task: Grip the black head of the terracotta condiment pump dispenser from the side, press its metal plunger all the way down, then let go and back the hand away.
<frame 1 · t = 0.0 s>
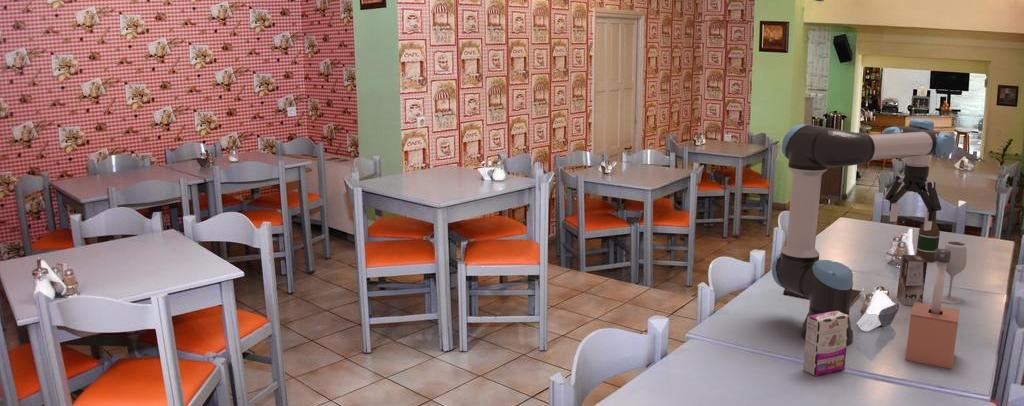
hand: (909, 225, 277), 28 cm above the table, tool pointing down, fingers open, 13 cm apart
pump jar: (929, 357, 236), on the table
beer bottle: (925, 260, 336), on the table
coffee box: (909, 302, 284), on the table
wineglass: (948, 301, 286), on the table
candy bar box: (823, 370, 227), on the table
pump plunger: (938, 288, 230), point 22 cm above the table, slide at 0.0 cm
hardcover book: (821, 297, 291), on the table
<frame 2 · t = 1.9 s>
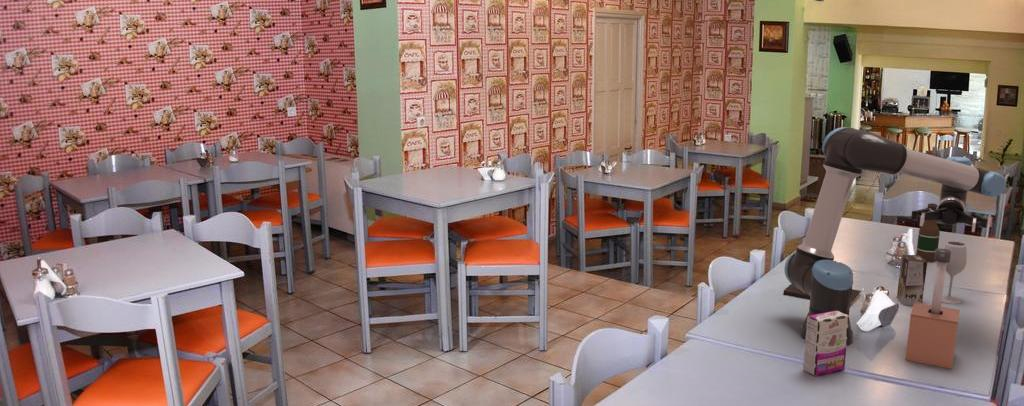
hand: (947, 224, 237), 38 cm above the table, tool horizontal, fingers open, 13 cm apart
nothing on the table moved.
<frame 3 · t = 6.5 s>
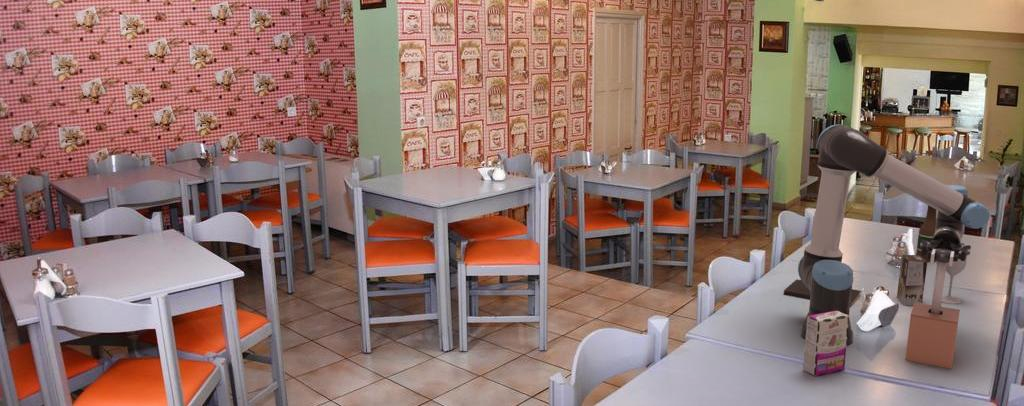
hand: (941, 260, 225), 31 cm above the table, tool horizontal, fingers closed on pump plunger, 4 cm apart
pump plunger: (938, 288, 230), point 22 cm above the table, slide at 0.0 cm, touching gripper
everything else where it was.
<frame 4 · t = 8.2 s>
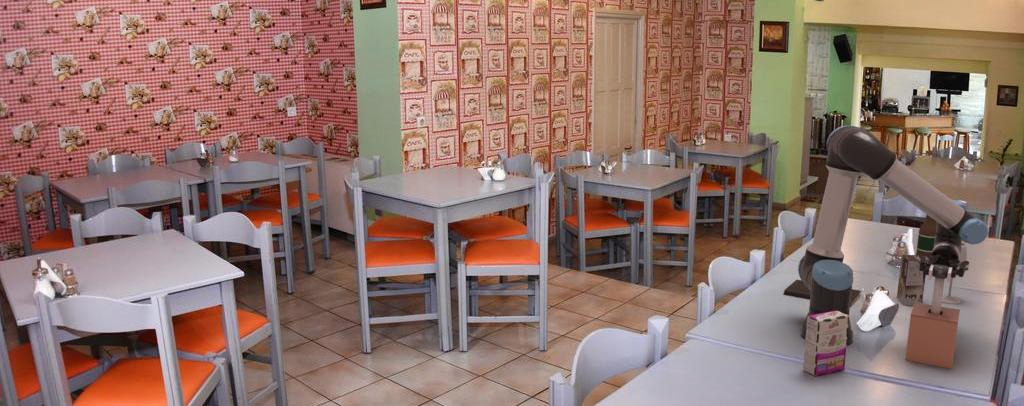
hand: (939, 276, 226), 26 cm above the table, tool horizontal, fingers closed on pump plunger, 4 cm apart
pump plunger: (936, 303, 231), point 17 cm above the table, slide at 4.8 cm, touching gripper
everything else where it was.
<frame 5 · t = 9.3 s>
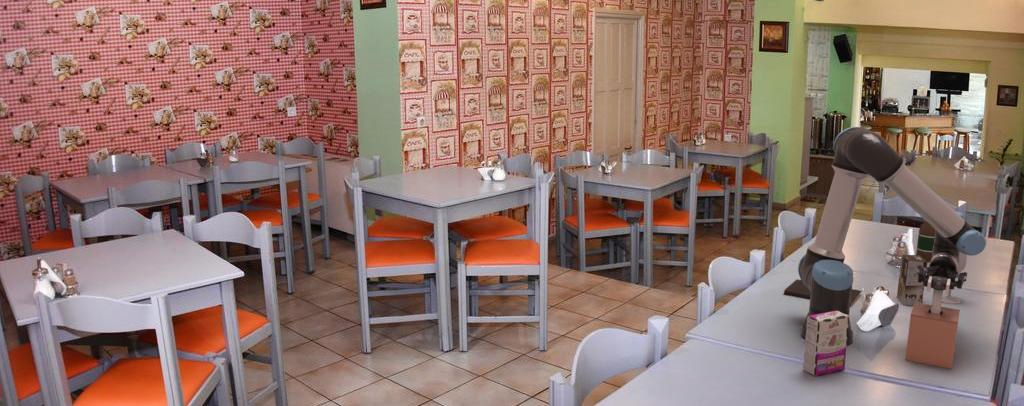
hand: (938, 288, 227), 23 cm above the table, tool horizontal, fingers closed on pump plunger, 4 cm apart
pump plunger: (934, 315, 232), point 13 cm above the table, slide at 8.3 cm, touching gripper
everything else where it was.
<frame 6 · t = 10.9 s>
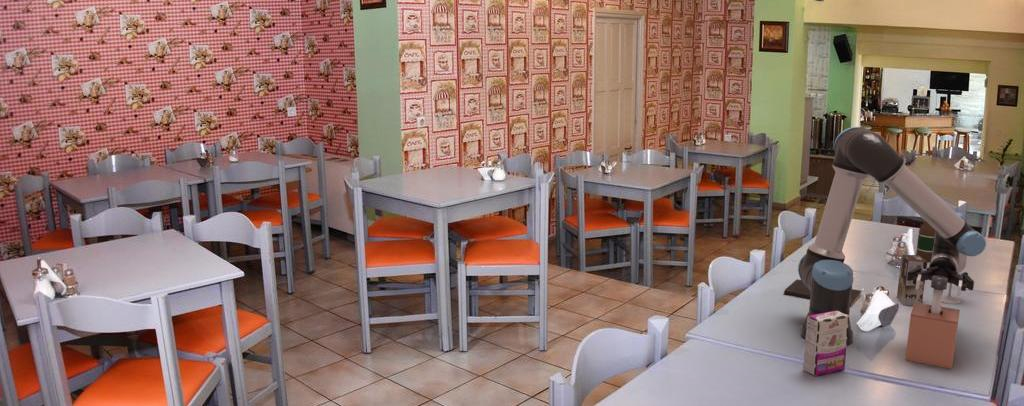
hand: (938, 287, 228), 22 cm above the table, tool horizontal, fingers open, 10 cm apart
pump plunger: (935, 314, 232), point 14 cm above the table, slide at 8.1 cm
everything else where it was.
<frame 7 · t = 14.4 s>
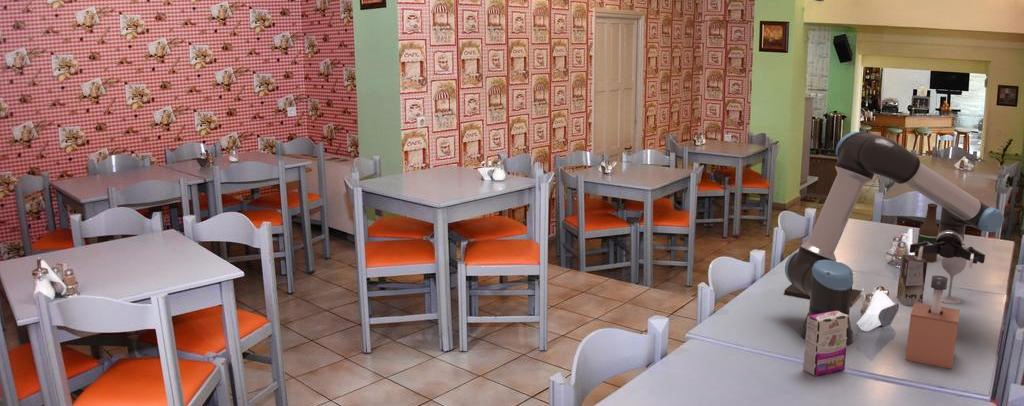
hand: (944, 259, 239), 27 cm above the table, tool horizontal, fingers open, 13 cm apart
nothing on the table moved.
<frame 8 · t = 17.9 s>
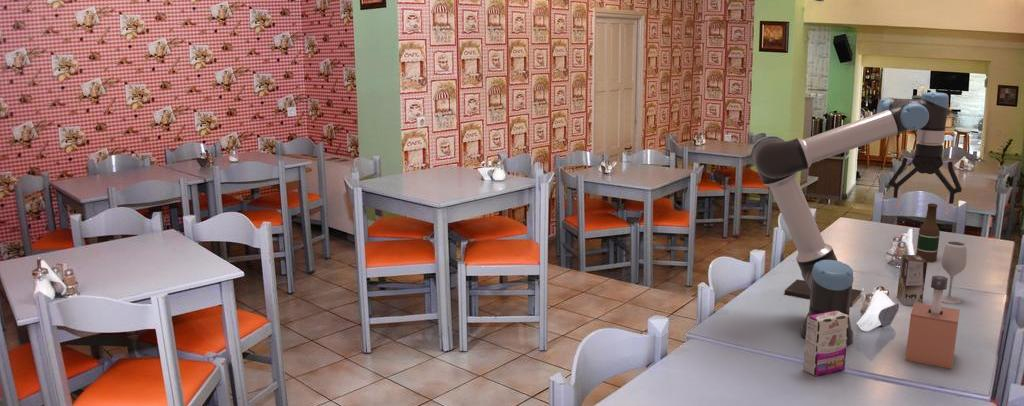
hand: (921, 211, 251), 39 cm above the table, tool pointing down, fingers open, 13 cm apart
nothing on the table moved.
at the end: pump plunger slide at 8.1 cm; the gripper is holding nothing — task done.
